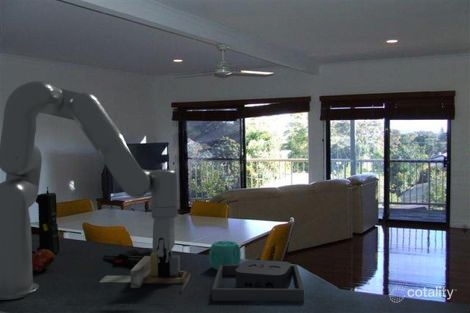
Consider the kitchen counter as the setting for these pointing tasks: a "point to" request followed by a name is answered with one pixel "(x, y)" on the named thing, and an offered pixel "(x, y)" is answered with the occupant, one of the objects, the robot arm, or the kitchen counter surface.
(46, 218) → the portable radio
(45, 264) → the pomegranate
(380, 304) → the kitchen counter surface
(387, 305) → the kitchen counter surface
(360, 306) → the kitchen counter surface
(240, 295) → the dark rectangular frame
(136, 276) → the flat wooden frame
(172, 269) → the latch bar
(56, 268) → the kitchen counter surface
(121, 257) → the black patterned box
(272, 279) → the streaming box
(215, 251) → the decorative dice
